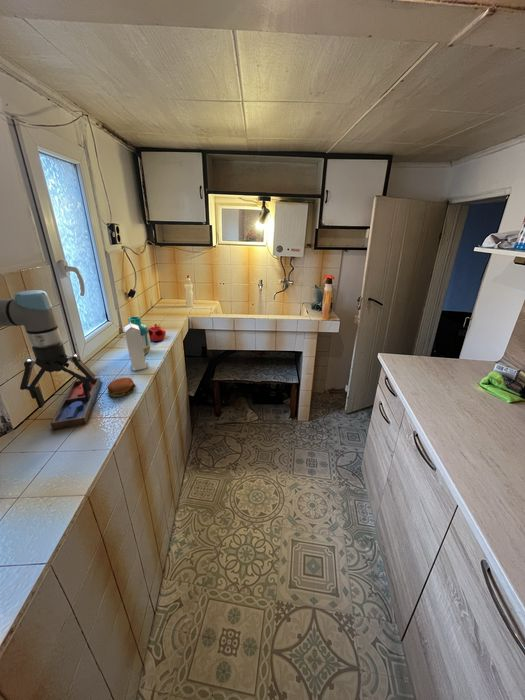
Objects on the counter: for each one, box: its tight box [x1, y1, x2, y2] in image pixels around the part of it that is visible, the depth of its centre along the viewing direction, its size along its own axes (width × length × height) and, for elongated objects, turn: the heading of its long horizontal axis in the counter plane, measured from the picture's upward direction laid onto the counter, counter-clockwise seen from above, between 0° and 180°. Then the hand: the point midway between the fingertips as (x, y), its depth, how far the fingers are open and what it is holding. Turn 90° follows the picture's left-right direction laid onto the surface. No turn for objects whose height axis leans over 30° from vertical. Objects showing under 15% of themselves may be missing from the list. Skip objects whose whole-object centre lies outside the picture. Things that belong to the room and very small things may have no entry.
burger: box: [107, 377, 137, 398], centre depth 110 cm, size 10×9×5 cm
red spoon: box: [78, 384, 92, 397], centre depth 109 cm, size 4×10×2 cm, turn 18°
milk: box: [123, 323, 148, 372], centre depth 126 cm, size 6×6×22 cm
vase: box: [127, 315, 151, 355], centre depth 139 cm, size 11×11×19 cm
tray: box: [50, 376, 102, 431], centre depth 104 cm, size 10×28×3 cm, turn 18°
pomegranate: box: [148, 323, 167, 342], centre depth 159 cm, size 10×10×9 cm
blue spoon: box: [67, 401, 84, 419], centre depth 97 cm, size 4×10×2 cm, turn 18°
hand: (65, 402), depth 93 cm, fingers open, 13 cm apart
